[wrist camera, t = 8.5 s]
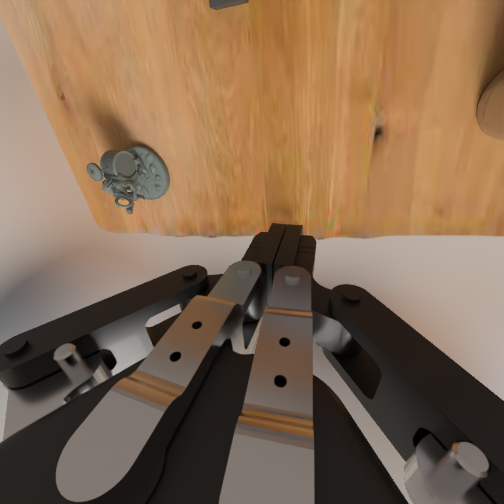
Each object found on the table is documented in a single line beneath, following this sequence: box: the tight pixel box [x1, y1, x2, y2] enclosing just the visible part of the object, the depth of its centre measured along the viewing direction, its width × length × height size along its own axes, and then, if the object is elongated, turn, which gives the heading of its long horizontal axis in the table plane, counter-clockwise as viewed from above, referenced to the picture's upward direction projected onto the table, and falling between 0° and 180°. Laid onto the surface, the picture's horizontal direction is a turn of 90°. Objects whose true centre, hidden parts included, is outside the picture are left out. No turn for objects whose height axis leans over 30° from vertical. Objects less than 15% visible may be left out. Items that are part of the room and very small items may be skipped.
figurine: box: [87, 146, 170, 214], centre depth 46 cm, size 11×11×12 cm
